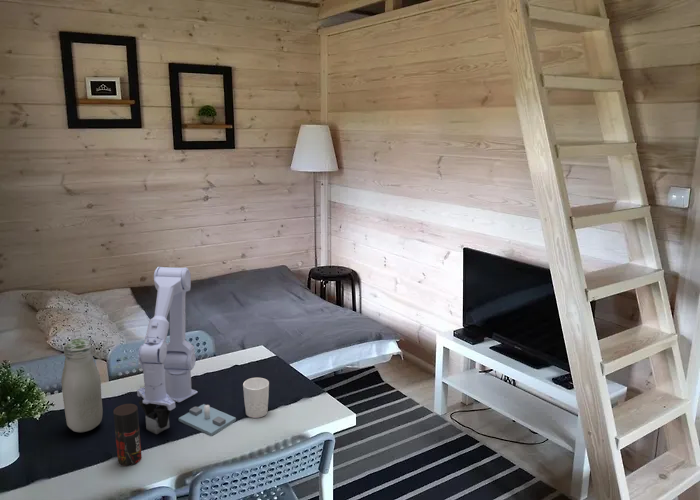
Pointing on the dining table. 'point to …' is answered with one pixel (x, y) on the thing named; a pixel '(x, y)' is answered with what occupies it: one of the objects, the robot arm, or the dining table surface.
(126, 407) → the deodorant
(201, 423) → the shaft base
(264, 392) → the white cup
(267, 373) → the dining table surface
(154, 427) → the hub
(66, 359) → the glass bottle
